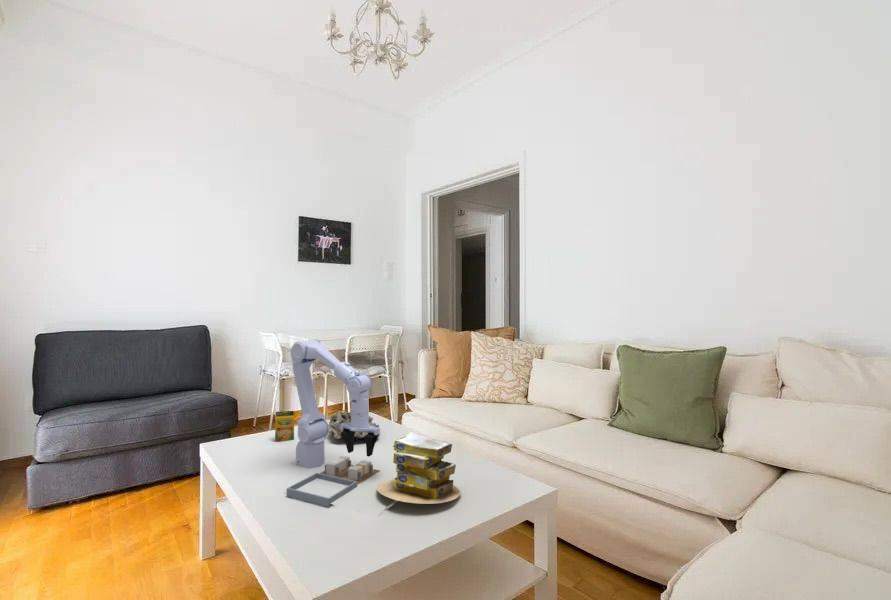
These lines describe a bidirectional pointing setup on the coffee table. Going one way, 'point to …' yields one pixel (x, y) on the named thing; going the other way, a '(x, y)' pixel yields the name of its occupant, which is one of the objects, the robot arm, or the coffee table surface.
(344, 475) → the board
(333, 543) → the coffee table surface
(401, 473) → the stacked boxes on plate
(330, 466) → the block
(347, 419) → the decorative rock
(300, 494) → the tray
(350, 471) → the marked fuse
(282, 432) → the crayon box
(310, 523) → the coffee table surface
